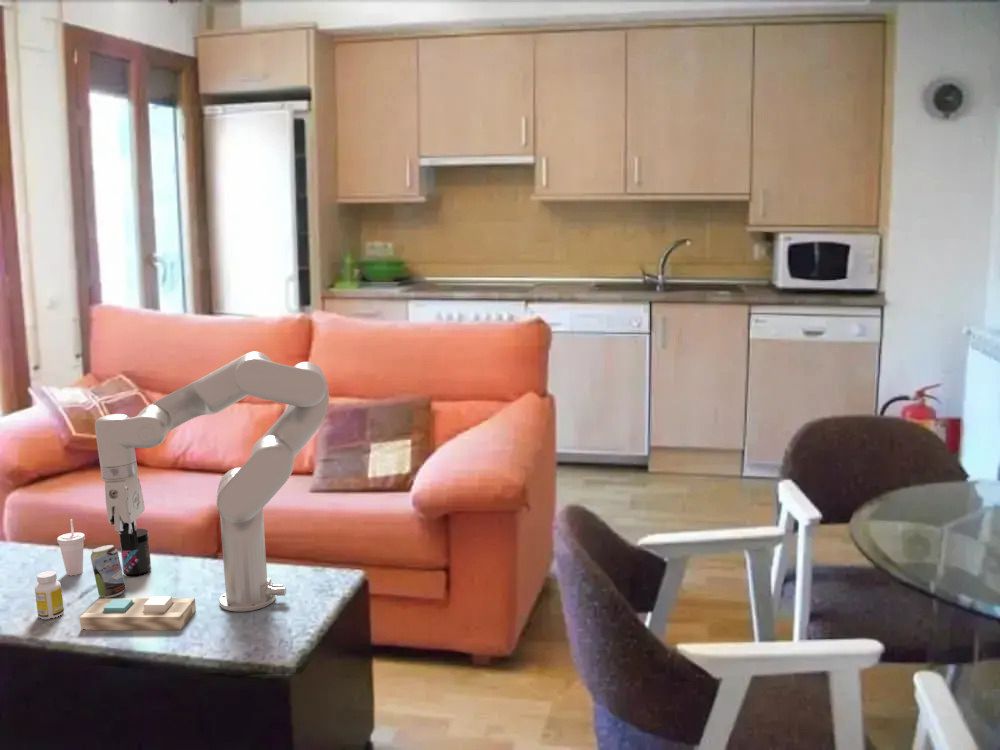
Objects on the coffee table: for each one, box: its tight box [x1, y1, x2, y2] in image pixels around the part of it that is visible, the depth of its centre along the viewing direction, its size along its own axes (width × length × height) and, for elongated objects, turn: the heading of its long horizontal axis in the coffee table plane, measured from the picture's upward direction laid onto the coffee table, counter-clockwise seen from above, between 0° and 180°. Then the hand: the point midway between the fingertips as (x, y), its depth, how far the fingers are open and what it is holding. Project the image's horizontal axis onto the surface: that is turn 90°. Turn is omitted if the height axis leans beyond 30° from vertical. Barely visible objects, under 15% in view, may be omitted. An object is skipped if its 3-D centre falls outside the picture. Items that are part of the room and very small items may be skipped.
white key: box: [144, 595, 173, 613], centre depth 220 cm, size 5×5×3 cm
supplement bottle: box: [34, 570, 65, 620], centre depth 224 cm, size 5×5×10 cm
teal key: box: [104, 598, 133, 613], centre depth 221 cm, size 5×5×3 cm
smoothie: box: [56, 518, 86, 577], centre depth 248 cm, size 6×6×14 cm
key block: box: [79, 597, 197, 631], centre depth 221 cm, size 22×10×3 cm, turn 88°
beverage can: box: [90, 544, 126, 599], centre depth 234 cm, size 6×7×12 cm
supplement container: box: [119, 528, 152, 578], centre depth 248 cm, size 7×7×10 cm
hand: (130, 548), depth 222 cm, fingers closed
